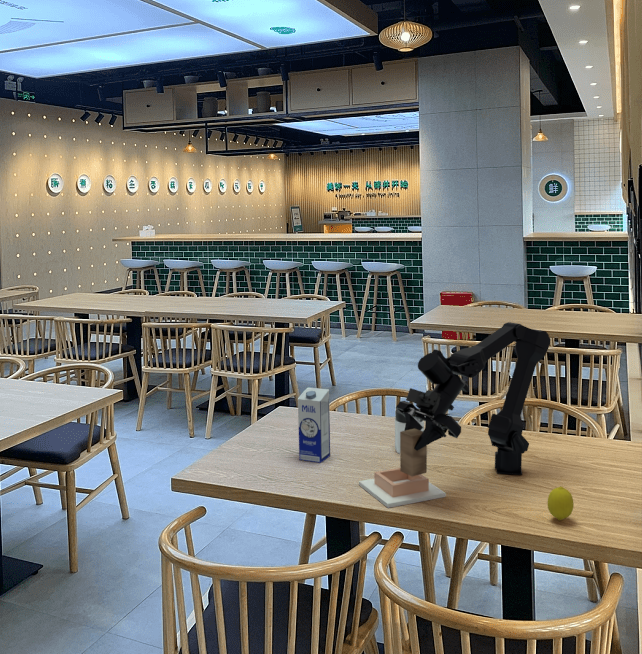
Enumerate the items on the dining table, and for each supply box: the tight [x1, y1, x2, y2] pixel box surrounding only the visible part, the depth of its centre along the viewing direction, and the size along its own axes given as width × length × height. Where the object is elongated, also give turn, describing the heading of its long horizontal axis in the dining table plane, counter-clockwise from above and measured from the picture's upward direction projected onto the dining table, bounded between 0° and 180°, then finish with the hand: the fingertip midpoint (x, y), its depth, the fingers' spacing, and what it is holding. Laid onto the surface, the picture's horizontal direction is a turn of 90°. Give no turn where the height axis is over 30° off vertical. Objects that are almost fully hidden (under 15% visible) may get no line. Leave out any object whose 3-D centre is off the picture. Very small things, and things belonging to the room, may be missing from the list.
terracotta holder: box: [358, 467, 447, 509], centre depth 178 cm, size 16×16×4 cm
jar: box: [394, 407, 425, 455], centre depth 207 cm, size 9×8×12 cm
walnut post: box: [399, 428, 428, 477], centre depth 171 cm, size 4×4×10 cm
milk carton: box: [297, 387, 331, 464], centre depth 202 cm, size 7×7×20 cm
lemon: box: [547, 486, 574, 521], centre depth 159 cm, size 6×6×8 cm
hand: (408, 446), depth 170 cm, fingers closed on walnut post, 4 cm apart
